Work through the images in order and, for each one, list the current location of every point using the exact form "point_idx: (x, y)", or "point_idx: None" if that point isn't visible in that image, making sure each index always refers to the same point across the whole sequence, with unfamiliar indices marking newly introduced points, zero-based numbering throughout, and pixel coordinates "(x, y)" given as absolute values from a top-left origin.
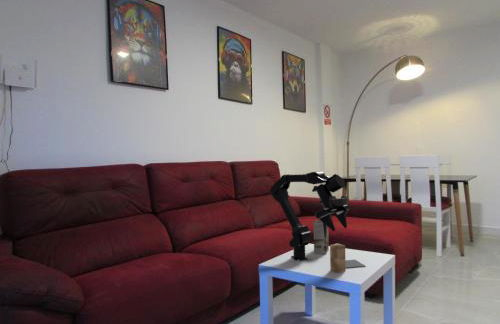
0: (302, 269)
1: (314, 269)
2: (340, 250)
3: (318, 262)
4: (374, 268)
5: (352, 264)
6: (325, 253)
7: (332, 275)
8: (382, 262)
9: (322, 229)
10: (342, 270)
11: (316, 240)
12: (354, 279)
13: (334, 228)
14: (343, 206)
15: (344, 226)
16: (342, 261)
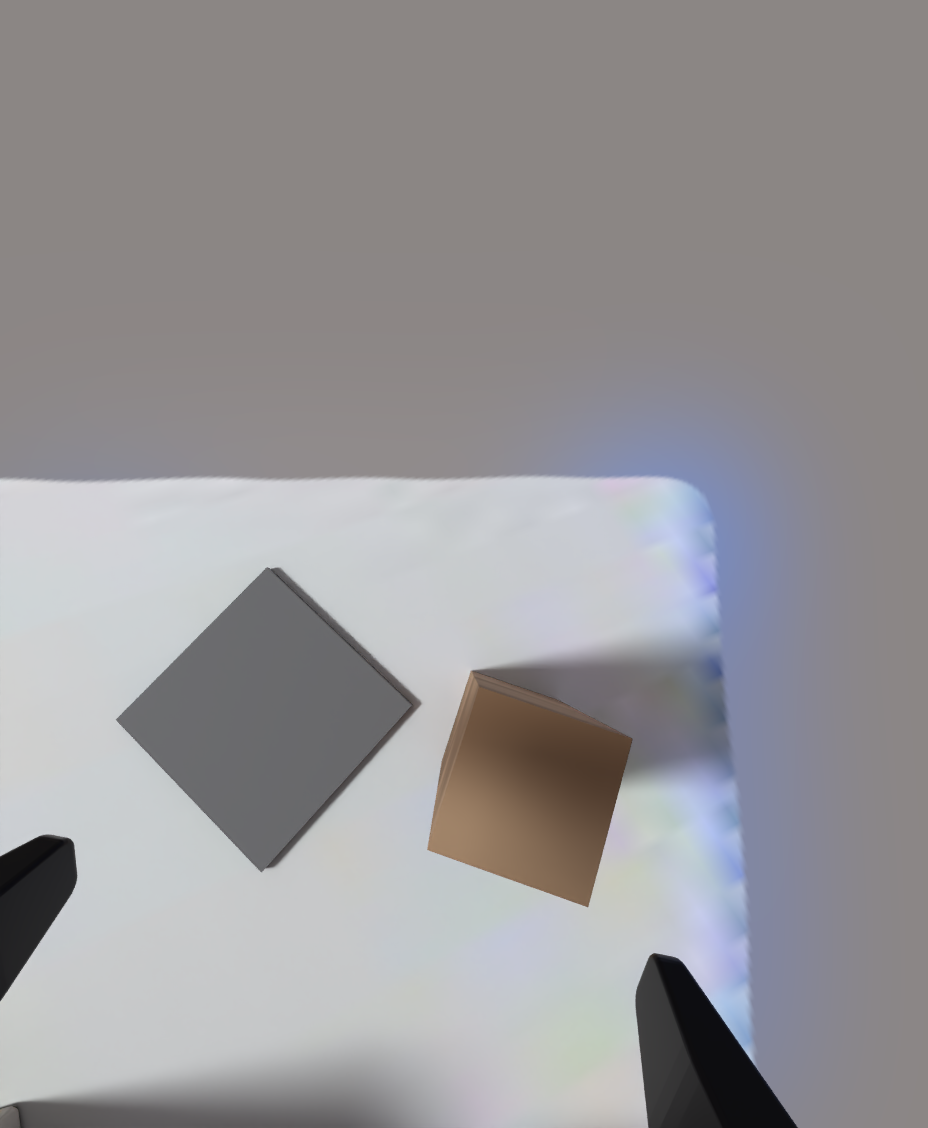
0: None
1: (589, 939)
2: (568, 713)
3: (359, 1019)
4: (281, 493)
5: (286, 679)
6: (11, 1115)
7: (644, 717)
8: (76, 489)
9: None
10: (510, 684)
11: None
12: (629, 533)
13: (701, 1012)
14: None
15: (32, 926)
16: (517, 690)
